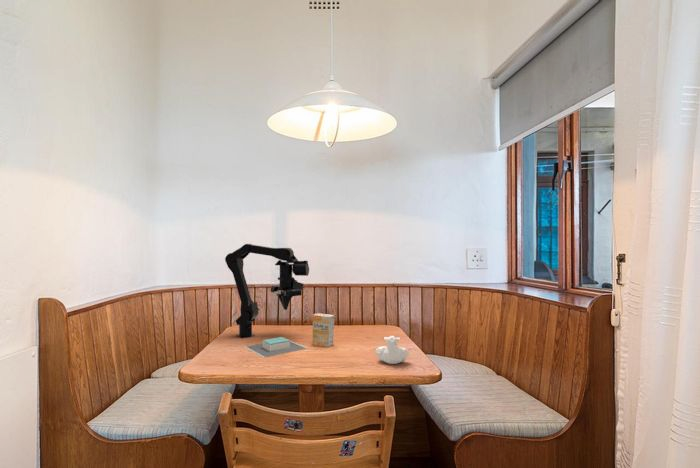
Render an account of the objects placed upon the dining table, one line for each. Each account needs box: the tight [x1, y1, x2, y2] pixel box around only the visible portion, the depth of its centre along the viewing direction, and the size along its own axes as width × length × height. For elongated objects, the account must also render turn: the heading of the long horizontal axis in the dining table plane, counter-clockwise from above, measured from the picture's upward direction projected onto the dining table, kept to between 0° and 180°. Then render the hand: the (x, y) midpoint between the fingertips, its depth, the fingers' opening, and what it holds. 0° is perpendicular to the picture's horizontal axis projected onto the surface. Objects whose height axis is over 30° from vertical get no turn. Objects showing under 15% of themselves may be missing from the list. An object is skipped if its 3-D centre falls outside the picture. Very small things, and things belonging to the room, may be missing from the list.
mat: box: [244, 340, 309, 359], centre depth 154 cm, size 18×20×1 cm
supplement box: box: [311, 312, 335, 348], centre depth 159 cm, size 8×5×13 cm, turn 65°
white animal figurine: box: [375, 335, 409, 365], centre depth 136 cm, size 12×8×11 cm
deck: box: [261, 336, 291, 351], centre depth 154 cm, size 3×9×7 cm
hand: (285, 309), depth 170 cm, fingers closed
